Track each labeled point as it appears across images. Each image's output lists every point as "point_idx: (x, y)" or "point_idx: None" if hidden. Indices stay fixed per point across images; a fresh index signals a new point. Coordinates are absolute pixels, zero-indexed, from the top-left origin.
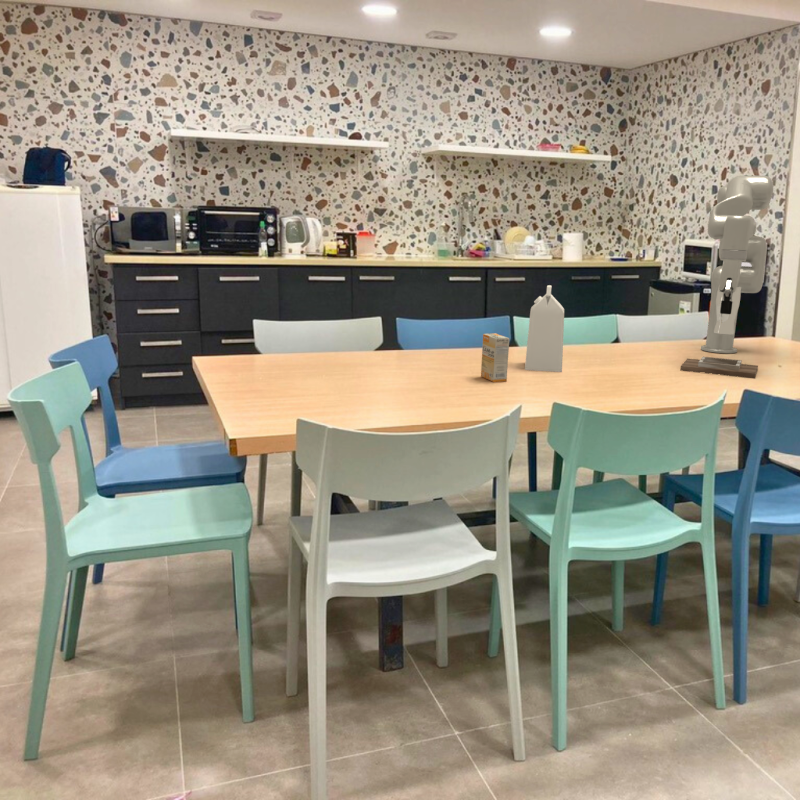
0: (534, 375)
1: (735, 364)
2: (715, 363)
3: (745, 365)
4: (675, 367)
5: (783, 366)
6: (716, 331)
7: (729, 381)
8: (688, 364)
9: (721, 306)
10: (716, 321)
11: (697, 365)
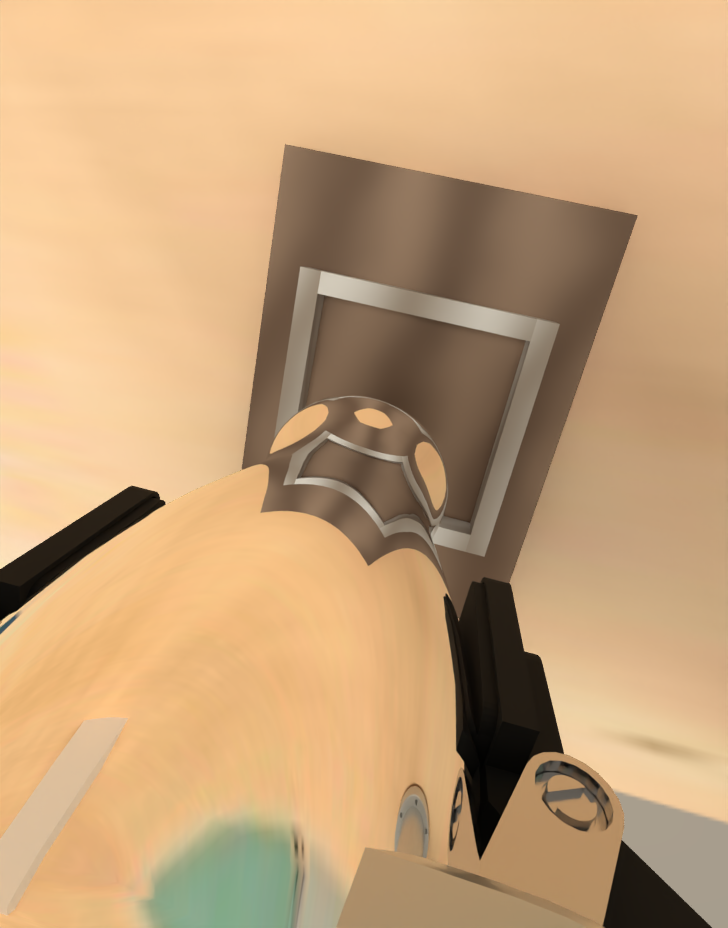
0: None
1: (473, 513)
2: (291, 375)
3: (469, 562)
4: (399, 120)
5: (660, 764)
6: (297, 413)
7: (101, 409)
8: (363, 206)
9: (66, 535)
10: (336, 438)
11: (348, 268)
